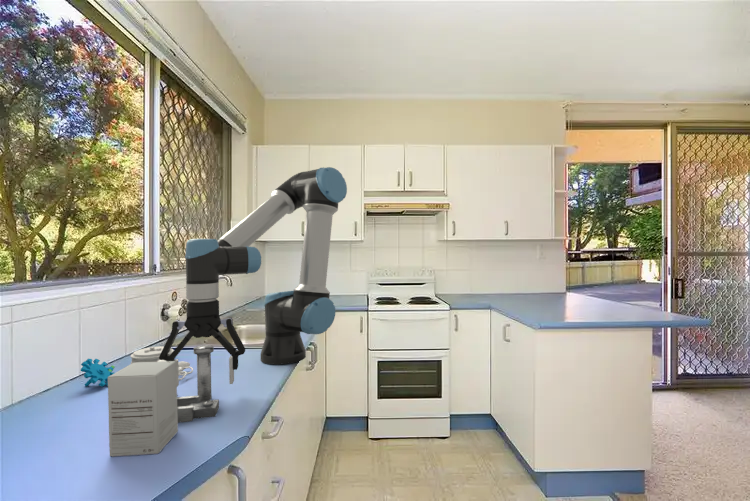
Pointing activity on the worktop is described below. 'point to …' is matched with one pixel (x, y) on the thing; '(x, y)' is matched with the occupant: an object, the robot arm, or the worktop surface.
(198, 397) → the bolted rod clamp
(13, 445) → the worktop surface
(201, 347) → the pin
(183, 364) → the tangled rod sculpture
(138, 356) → the lid
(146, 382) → the supplement box
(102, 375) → the gear
